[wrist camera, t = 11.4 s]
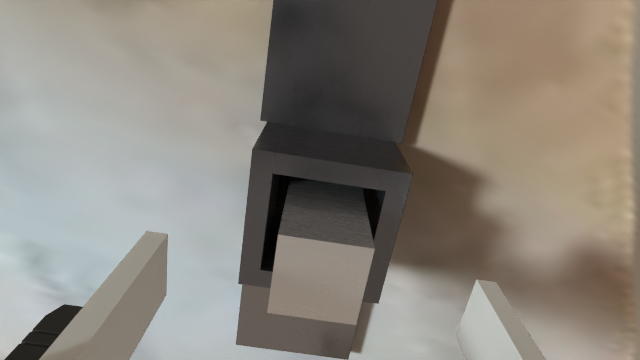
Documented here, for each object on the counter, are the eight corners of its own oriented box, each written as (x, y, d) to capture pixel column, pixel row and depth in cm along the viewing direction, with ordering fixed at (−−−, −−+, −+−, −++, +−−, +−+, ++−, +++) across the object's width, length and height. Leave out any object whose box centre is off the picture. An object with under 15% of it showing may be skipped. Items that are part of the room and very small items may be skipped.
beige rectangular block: (296, 150, 24) (278, 234, 15) (355, 160, 24) (375, 248, 15) (288, 204, 25) (266, 312, 16) (344, 213, 26) (356, 325, 16)
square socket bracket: (282, -62, 20) (266, -93, 14) (440, -33, 20) (484, -52, 15) (238, 334, 29) (218, 408, 24) (347, 348, 30) (352, 425, 24)
